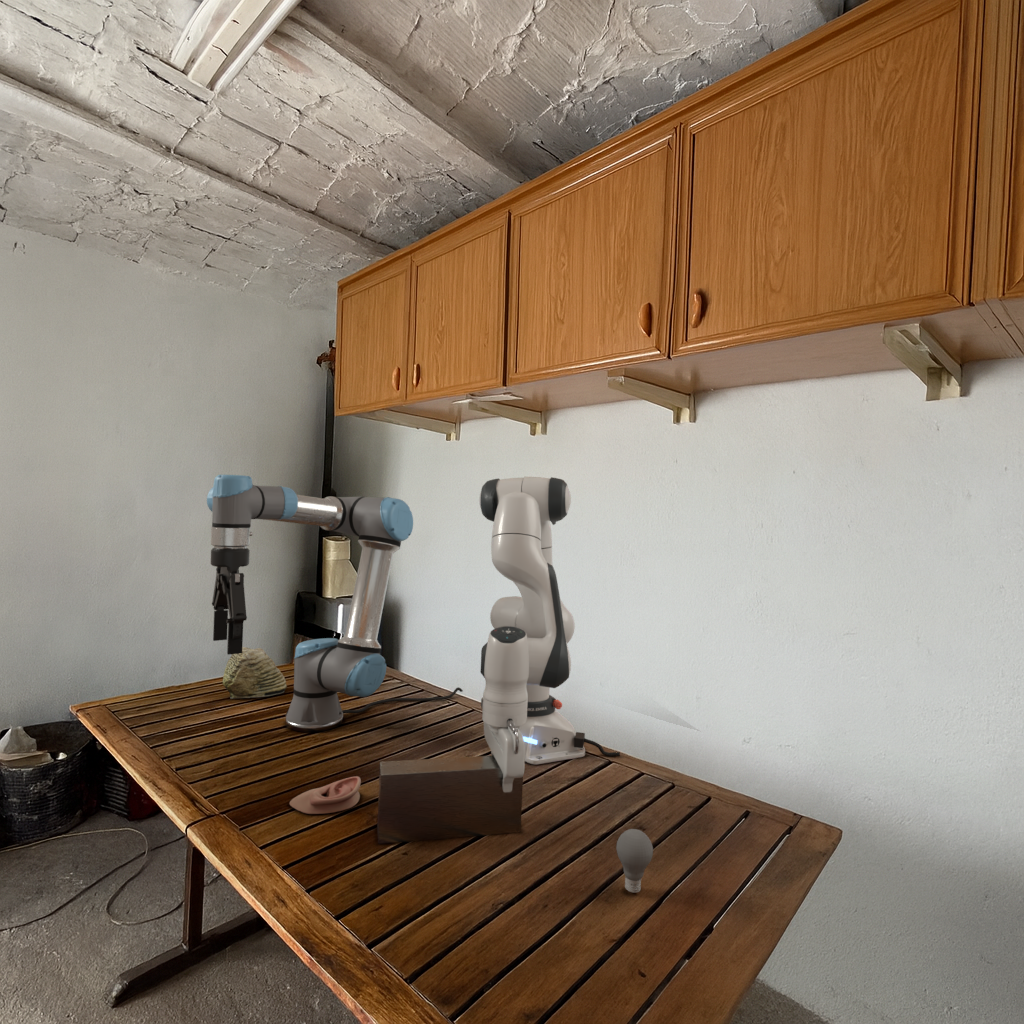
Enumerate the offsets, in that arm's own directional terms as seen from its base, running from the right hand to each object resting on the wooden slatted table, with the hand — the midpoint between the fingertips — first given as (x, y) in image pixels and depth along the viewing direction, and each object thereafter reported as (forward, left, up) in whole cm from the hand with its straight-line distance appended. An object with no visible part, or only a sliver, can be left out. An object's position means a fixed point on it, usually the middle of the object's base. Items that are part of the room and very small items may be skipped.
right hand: (501, 781), depth 125 cm
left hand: (+55, -26, +22) cm, 65 cm away
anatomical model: (+33, -16, -9) cm, 38 cm away
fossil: (+56, -91, -9) cm, 107 cm away
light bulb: (-17, +25, -9) cm, 31 cm away
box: (+10, 0, -9) cm, 14 cm away
